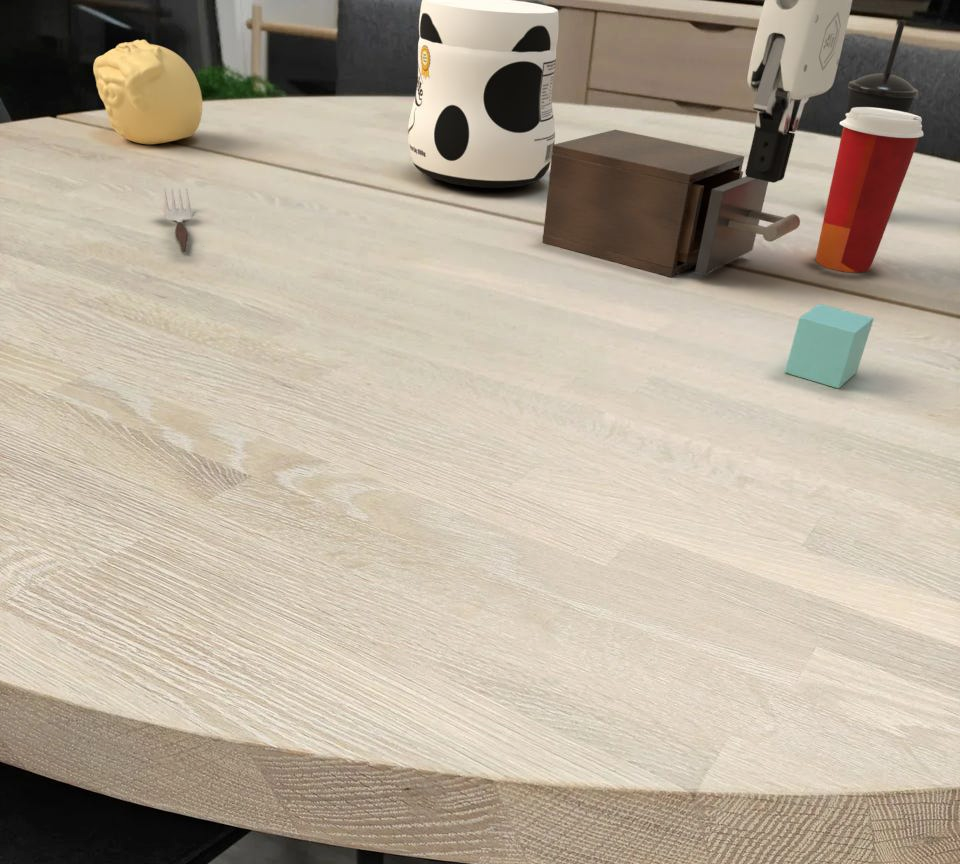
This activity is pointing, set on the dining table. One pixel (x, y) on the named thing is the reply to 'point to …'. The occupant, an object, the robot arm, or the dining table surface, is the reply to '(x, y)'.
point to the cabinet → (626, 197)
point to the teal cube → (828, 345)
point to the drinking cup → (883, 86)
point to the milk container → (484, 92)
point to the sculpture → (148, 92)
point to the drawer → (727, 220)
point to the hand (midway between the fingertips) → (763, 178)
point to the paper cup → (865, 185)
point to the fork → (179, 218)
